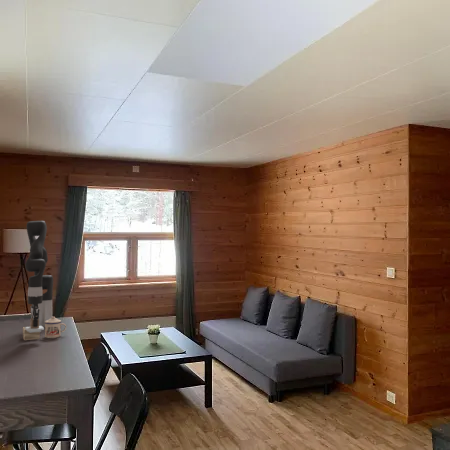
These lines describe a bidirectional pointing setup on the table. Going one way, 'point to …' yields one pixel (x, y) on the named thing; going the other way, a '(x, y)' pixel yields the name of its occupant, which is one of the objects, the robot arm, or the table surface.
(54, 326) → the teacup with lid
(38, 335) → the box
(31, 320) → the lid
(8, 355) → the table surface
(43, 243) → the robot arm
